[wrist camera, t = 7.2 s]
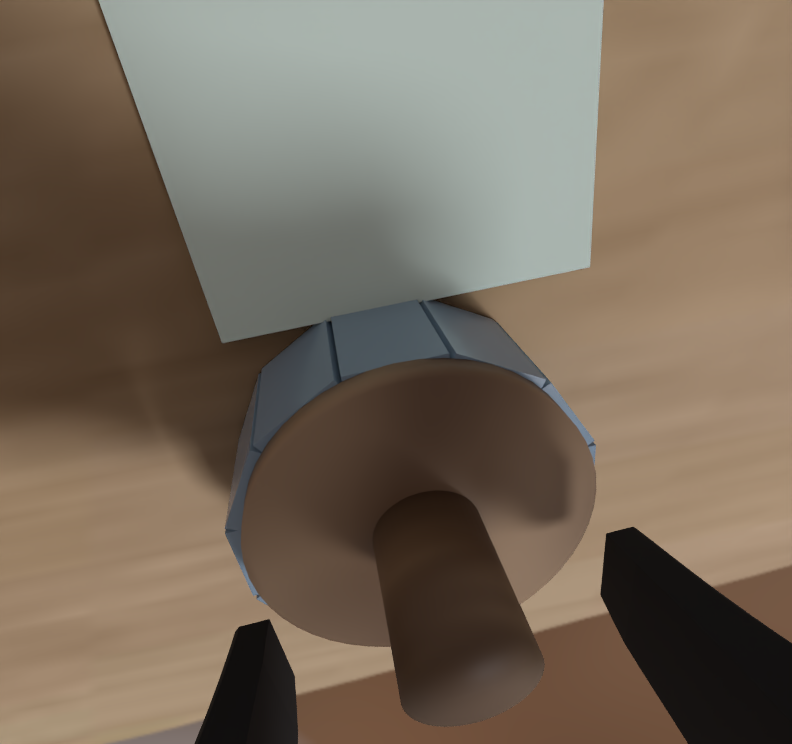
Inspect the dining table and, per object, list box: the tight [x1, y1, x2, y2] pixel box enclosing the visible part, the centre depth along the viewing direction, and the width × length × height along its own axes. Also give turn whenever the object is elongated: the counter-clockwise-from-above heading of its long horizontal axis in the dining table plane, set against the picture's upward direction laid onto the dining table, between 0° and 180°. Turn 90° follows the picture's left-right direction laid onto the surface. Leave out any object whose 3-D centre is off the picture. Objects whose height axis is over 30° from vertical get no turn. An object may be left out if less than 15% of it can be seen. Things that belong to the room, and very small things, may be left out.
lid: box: [241, 358, 596, 727], centre depth 11 cm, size 8×8×4 cm
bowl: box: [225, 299, 596, 605], centre depth 14 cm, size 9×9×4 cm
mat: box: [99, 0, 604, 343], centre depth 11 cm, size 10×10×1 cm
